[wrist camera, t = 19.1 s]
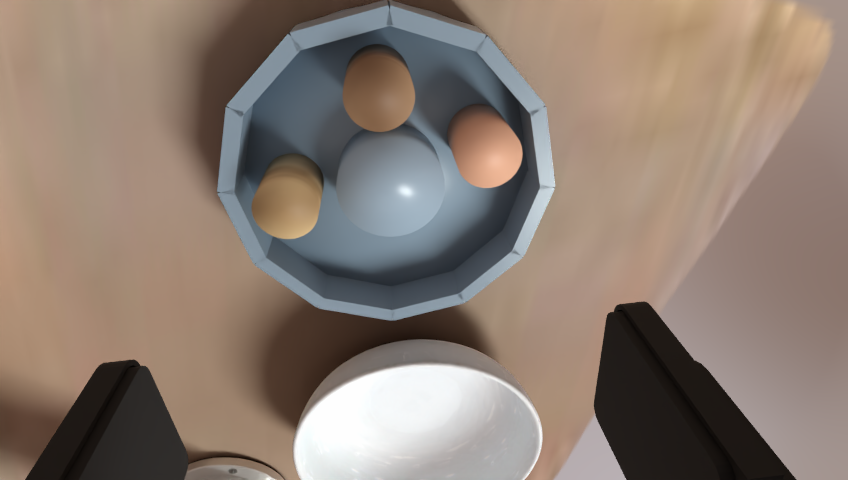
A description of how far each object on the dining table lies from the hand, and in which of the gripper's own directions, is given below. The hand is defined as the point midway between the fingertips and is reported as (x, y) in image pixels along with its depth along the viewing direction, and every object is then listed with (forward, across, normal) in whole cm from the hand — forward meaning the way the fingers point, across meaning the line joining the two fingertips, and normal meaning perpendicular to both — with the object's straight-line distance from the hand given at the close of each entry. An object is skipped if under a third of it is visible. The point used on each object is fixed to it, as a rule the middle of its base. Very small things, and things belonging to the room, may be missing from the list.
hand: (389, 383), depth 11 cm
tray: (+26, 0, +6) cm, 27 cm away
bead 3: (+25, -7, +3) cm, 26 cm away
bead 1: (+25, +6, +6) cm, 27 cm away
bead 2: (+25, 0, -1) cm, 25 cm away
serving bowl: (+27, 0, +29) cm, 40 cm away
